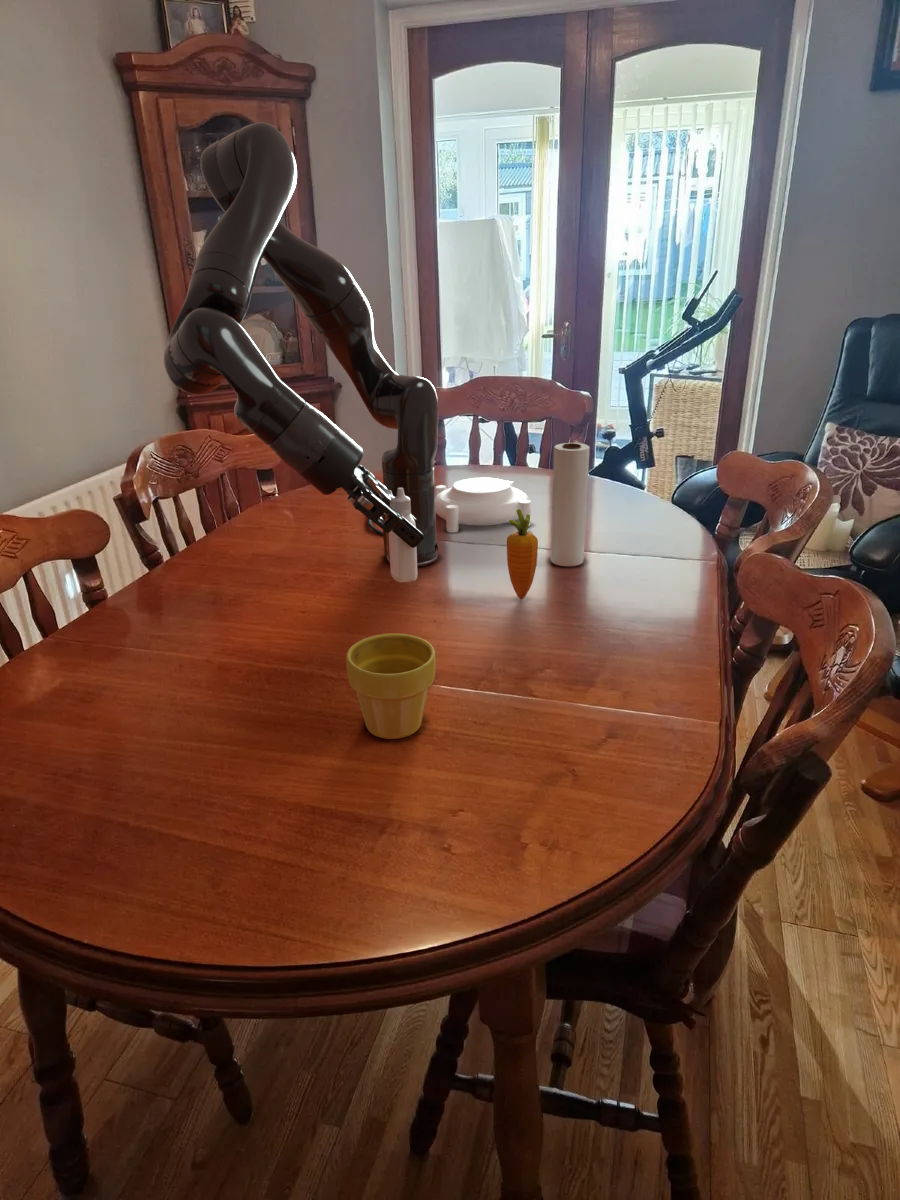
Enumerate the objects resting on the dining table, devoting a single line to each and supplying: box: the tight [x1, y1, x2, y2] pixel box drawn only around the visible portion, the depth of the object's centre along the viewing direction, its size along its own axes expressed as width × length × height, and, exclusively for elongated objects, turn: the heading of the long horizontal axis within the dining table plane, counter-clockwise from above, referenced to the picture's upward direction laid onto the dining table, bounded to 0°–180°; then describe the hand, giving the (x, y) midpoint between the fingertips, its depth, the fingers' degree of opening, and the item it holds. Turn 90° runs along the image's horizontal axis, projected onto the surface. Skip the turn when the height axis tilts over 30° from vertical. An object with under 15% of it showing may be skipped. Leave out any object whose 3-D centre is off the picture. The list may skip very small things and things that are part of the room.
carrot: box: [506, 509, 539, 601], centre depth 120 cm, size 5×5×15 cm
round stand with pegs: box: [435, 476, 532, 533], centre depth 162 cm, size 24×24×7 cm
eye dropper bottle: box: [389, 488, 418, 583], centre depth 98 cm, size 4×6×12 cm
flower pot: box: [345, 633, 436, 740], centre depth 89 cm, size 10×10×10 cm
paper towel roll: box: [550, 439, 591, 567], centre depth 134 cm, size 7×6×21 cm
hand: (415, 534), depth 99 cm, fingers closed on eye dropper bottle, 5 cm apart
